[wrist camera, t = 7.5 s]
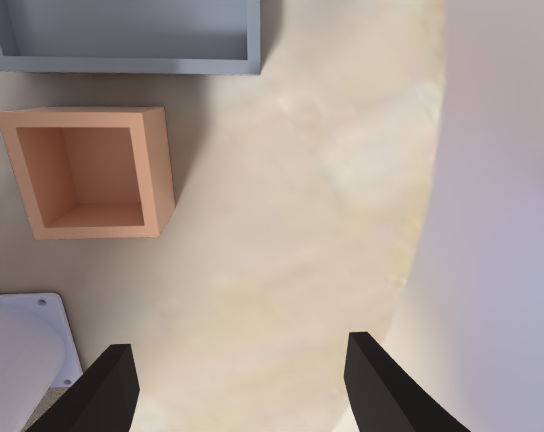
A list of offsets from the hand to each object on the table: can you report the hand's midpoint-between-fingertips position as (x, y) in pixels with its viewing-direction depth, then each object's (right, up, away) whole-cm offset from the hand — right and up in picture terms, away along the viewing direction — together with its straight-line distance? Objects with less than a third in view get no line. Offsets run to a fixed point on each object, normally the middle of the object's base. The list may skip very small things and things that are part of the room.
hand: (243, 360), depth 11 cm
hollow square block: (-8, +8, +7) cm, 13 cm away
